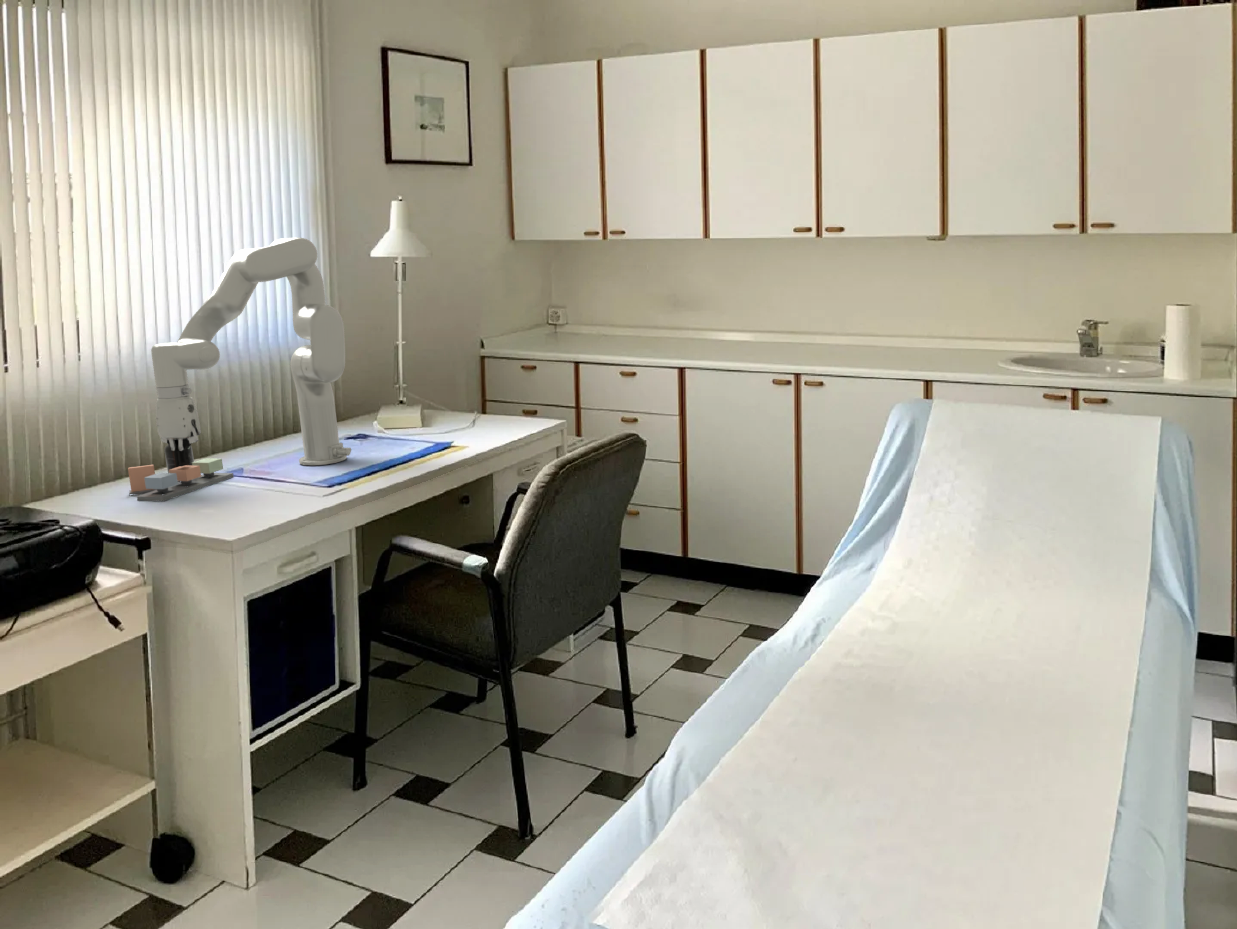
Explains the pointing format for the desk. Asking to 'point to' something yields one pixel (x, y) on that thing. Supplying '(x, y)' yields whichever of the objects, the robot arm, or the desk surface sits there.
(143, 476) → the upright salmon panel
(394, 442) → the desk surface
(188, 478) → the button terracotta
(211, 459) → the button sage
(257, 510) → the desk surface
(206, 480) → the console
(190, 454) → the supplement bottle
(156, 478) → the button slate
